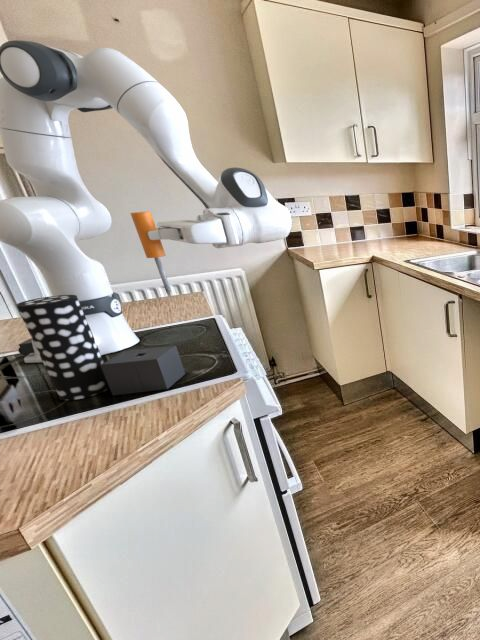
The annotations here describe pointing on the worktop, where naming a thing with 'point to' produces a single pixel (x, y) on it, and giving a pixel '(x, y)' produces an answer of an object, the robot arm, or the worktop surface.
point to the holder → (143, 370)
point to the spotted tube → (65, 345)
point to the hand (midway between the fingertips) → (144, 235)
